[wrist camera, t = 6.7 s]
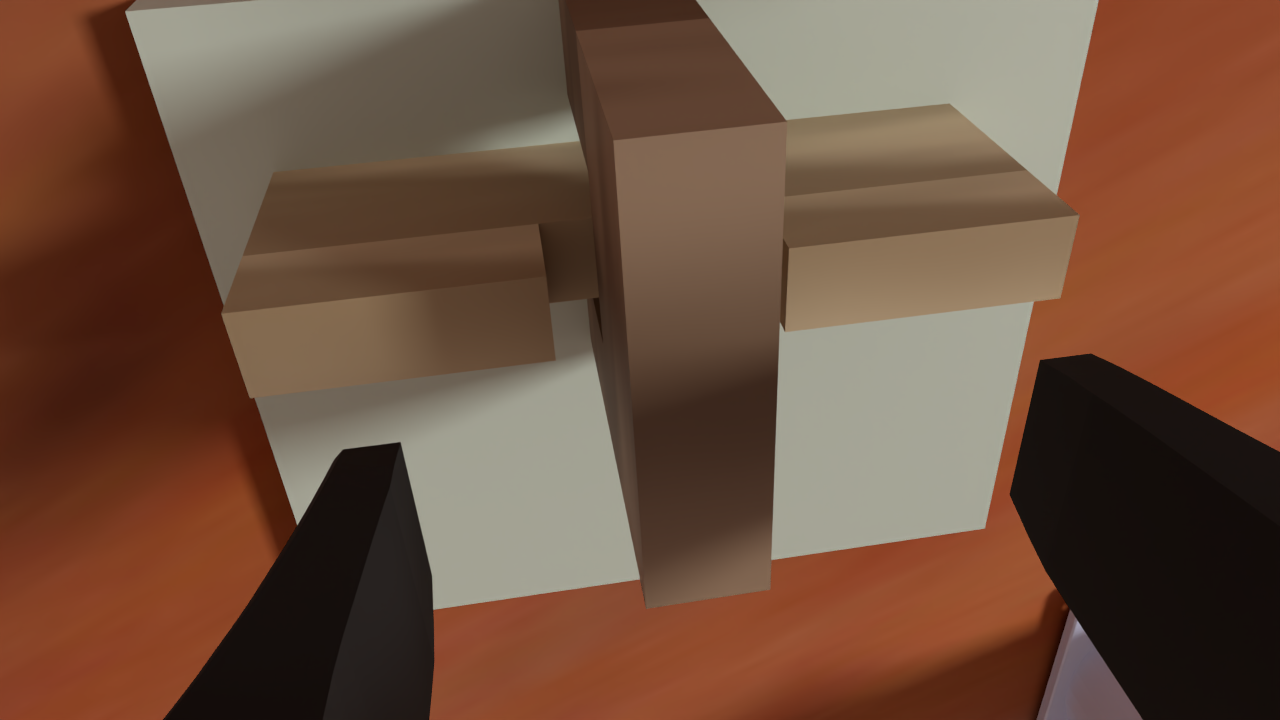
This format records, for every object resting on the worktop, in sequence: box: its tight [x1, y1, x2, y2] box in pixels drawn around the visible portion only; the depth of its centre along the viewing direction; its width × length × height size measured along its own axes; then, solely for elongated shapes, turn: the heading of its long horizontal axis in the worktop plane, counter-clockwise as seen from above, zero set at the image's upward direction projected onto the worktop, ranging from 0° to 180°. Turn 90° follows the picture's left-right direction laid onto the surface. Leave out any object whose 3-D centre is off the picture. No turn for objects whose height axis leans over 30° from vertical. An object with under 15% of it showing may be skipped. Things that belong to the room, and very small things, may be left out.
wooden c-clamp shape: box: [558, 0, 787, 609], centre depth 15 cm, size 7×2×7 cm, turn 3°
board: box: [125, 0, 1098, 610], centre depth 20 cm, size 14×16×1 cm
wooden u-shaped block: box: [221, 103, 1080, 398], centre depth 16 cm, size 1×12×5 cm, turn 93°
